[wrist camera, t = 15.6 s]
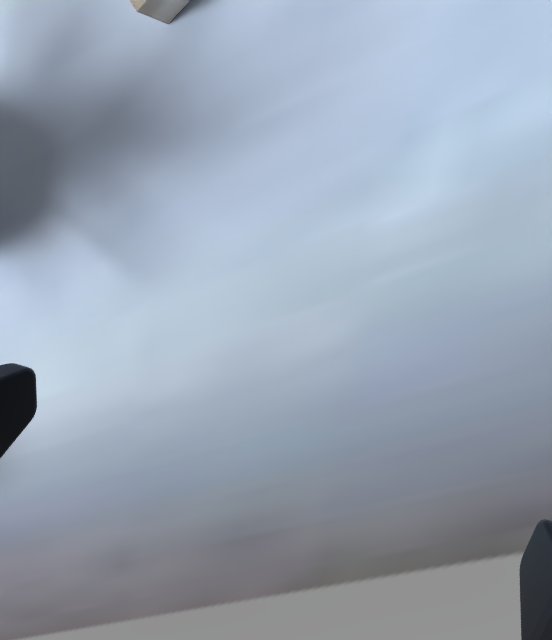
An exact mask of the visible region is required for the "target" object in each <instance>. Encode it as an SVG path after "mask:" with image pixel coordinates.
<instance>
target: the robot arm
mask: <svg viewBox="0 0 552 640" xmlns="http://www.w3.org/2000/svg"><path fill="white" fill-rule="evenodd" d="M36 408H37V395H36V375H35V373H34V371H33V370H32V369H31V368H28V367H25V366H22V365H18V364H14V363H10V364H4V365H0V458H1V457H2V456H3V454H4V453H5V452H6V451H7V449H8V448H9V447H10V446H11V445H12V443H13V442H14V441H15V440H16V438H17V437H18V436H19V435H20V433H21V432H22V431H23V430H24V429H25V427H26V426H27V425H28V424H29V422H30V421H31V420H32V418H33V417H34V415H35V412H36ZM520 602H521V636H522V640H552V521H550V520H547V519H544V520H541V521H540V522H539V523H538V524H537V526H536V528H535V530H534V532H533V534H532V536H531V539H530V541H529V543H528V545H527V548H526V550H525V552H524V554H523V557H522V560H521V564H520Z"/></svg>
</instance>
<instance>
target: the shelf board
mask: <svg viewBox="0 0 552 640" xmlns="http://www.w3.org/2000/svg"><path fill="white" fill-rule="evenodd" d="M130 1H131V3H132V5H133V6H134V8H135V9H136V11H137V12H139V13H142V14H144V15H147V16H149V17H152V18H154V19H156V20H159V21H161V22H164V23H166V24H169V23H170V22H171V21H172V19H173V18H174V17H175V16H176V15H177V14H178V13H179V12H180V11H181V10H182V9H183V8H184V6H185V5H186V4H187V3H188V2H189V1H190V0H130Z"/></svg>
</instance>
